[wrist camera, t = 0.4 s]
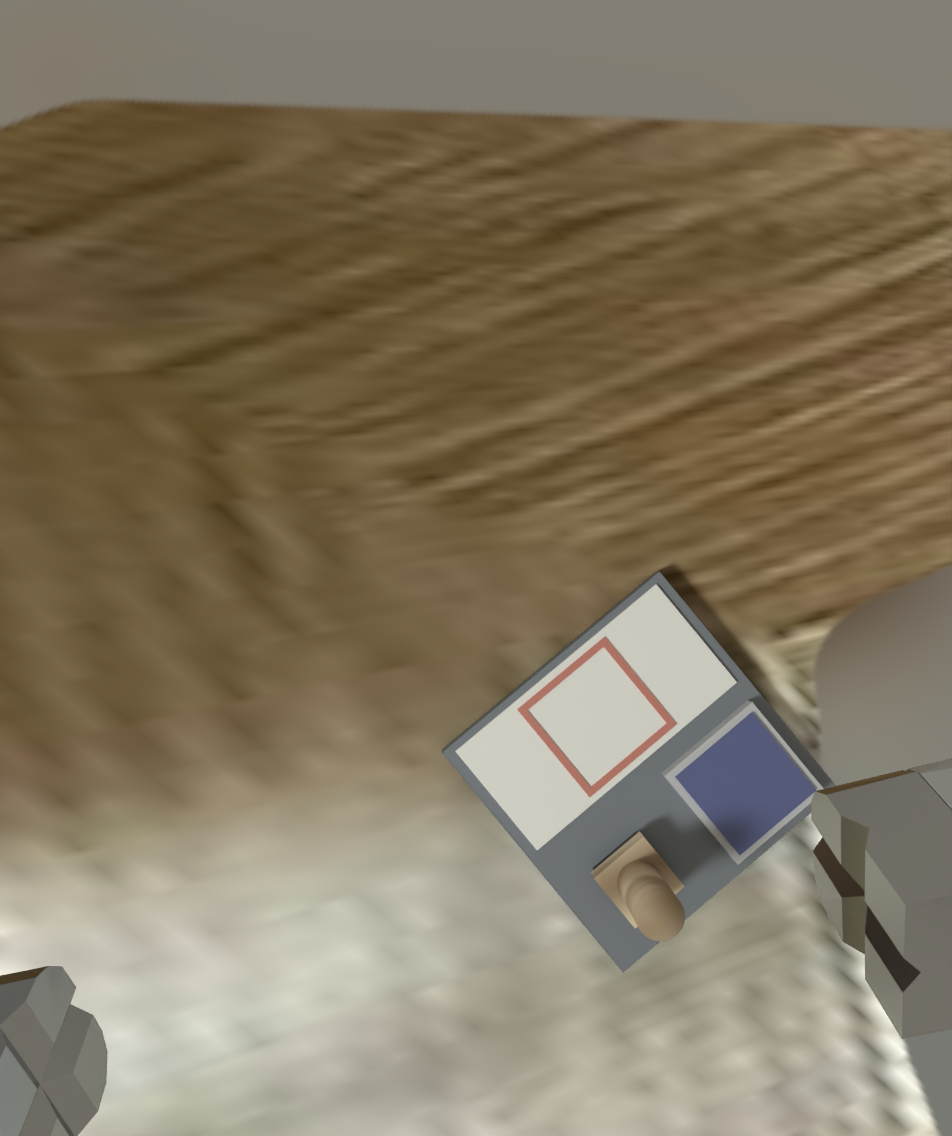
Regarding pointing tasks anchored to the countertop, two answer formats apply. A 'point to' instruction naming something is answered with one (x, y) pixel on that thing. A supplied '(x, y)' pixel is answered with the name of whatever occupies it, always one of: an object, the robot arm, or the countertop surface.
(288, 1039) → the countertop surface
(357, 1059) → the countertop surface
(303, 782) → the countertop surface
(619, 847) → the stamp
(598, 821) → the stamping board
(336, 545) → the countertop surface
